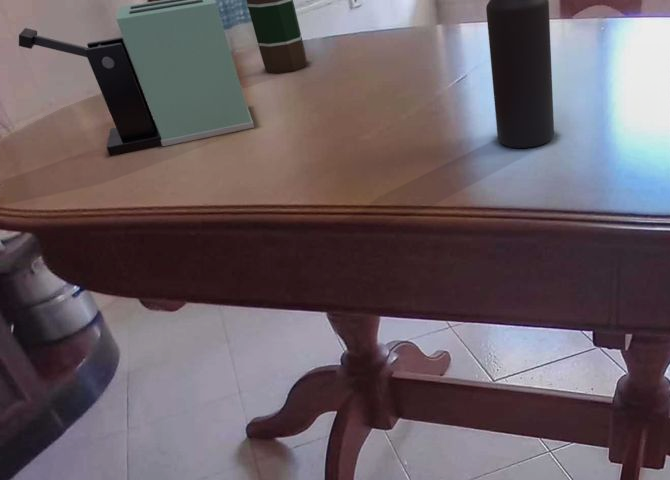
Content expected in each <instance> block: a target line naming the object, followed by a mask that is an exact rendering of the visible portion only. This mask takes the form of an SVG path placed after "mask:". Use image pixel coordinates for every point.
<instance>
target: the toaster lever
mask: <svg viewBox="0 0 670 480" xmlns="http://www.w3.org/2000/svg"><path fill="white" fill-rule="evenodd" d="M34 46H39V47H43V48H47V49H50V50H55V51H58V52H62V53H63V52H64V53H67V54H72V55H74V56H75V55H76V56H80V57H84V58H87V56H86V53H85V49H87V48H88V47H87V46H82V45H78V44H75V43H69V42H66V41H61V40H57V39H54V38H50V37H45V36H42V35H38V30H35V29H31V28H29V27H28V28H27V27H24V28H23V30H22V31H21V32H20V33H19V35H18V47H22V48H25V49H30V50H31V49H33V48H34ZM99 46H105V45H101V44H99V45H98V47H99Z"/></svg>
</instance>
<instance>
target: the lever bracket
mask: <svg viewBox="0 0 670 480" xmlns="http://www.w3.org/2000/svg"><path fill="white" fill-rule="evenodd" d="M99 44H101V45H105V46H99V47H98V45H99ZM86 45H87V46H86V48H87V49H85V53H86V56H87V57H86V58H87V61H88V64H89V66H90V68H91V71H92V73H93V75H94V77H95V80H96V82H97V84H98V87H99V89H100V92H101V94H102V97H103V100H104V103H105V104H106V106H107V109H108V111H109V114H110V116H111V118H112V121H113V123H114V126H115V127H111V128H109V134H108V139H107V144H106V150H107V152H108V154H109V156H110V157H113V156H117V155H121V154H126V153H131V152H136V151H140V150H145V149H150V148H155V147H160V146H162V144H161V136H160V134H159V131H158V128H157V126H156V123H155V120H154V118H153V115H152V112H151V110H150V107H149V104H148V102H147V99H146V97H145V94H144V91H143V89H142V86H141V83H140V81H139V78H138V75H137V73H136V70H135V67H134V65H133V62H132V60H131V57H130V54H129V52H128V49H127V46H126V44H125V41H124V38H123V36H121V37H115V38H107V39H103V40H96V41H91V42H87V44H86Z"/></svg>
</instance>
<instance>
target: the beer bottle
mask: <svg viewBox="0 0 670 480" xmlns="http://www.w3.org/2000/svg"><path fill="white" fill-rule="evenodd" d="M245 1H246V4H247V8H248V12H249V15H250V19H251V24H252V27H253V31H254V34H255V37H256V42H257V46H258V50H259V52H260V57H261V60H262V63H263V66H264V69H265V71H266V72H267V73H271V74H283V73H292V72H296V71H298V70H301V69H304V68H306V66H307V55H306V50H305V45H304V40H303V37H302V33H301V29H300V24H299V19H298V16H297V12H296V7H295V3H294V0H245Z"/></svg>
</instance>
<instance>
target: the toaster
mask: <svg viewBox="0 0 670 480" xmlns="http://www.w3.org/2000/svg"><path fill="white" fill-rule="evenodd" d="M115 20H116V22H117V25H118V28H119V31H120V34H121V37H123V40H124V42H125V45H126V47H127V50H128V53H129V55H130V58H131V61H132V63H133V66H134V69H135V71H136V74H137V77H138V79H139V82H140V84H141V87H142V90H143V92H144V95H145V98H146V100H147V103H148V106H149V108H150V111H151V113H152V116H153V119H154V120H155V123H156V126H157V128H158V131H159V134H160V136H161V144H162V145H161V146H162V147H167V146H168V147H169V146H172V145H173V146H174V145H178V144H182V143H187V142H193V141H197V140H203V139H207V138H212V137H215V136H221V135H226V134H231V133H235V132H240V131H245V130H250V129H254V128H255V125H254V120H253V118H252V115H251V113H250V109H249V107H248V104H247V102H246V99H245V95H244V93H243V89H242V85H241V83H240V79H239V76H238V72H237V68H236V65H235V62H234V59H233V55H232V52H231V49H230V44H229V41H228V39H227V35H226V31H225V28H224V24H223V22H222V21H223V20H222V18H221V15H220V12H219V8H218V5H217V1H216V0H154V1H148V2H143V3H137V4H129V5H124V6H120V7H119V9H118V13H117V16H116V19H115Z"/></svg>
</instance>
